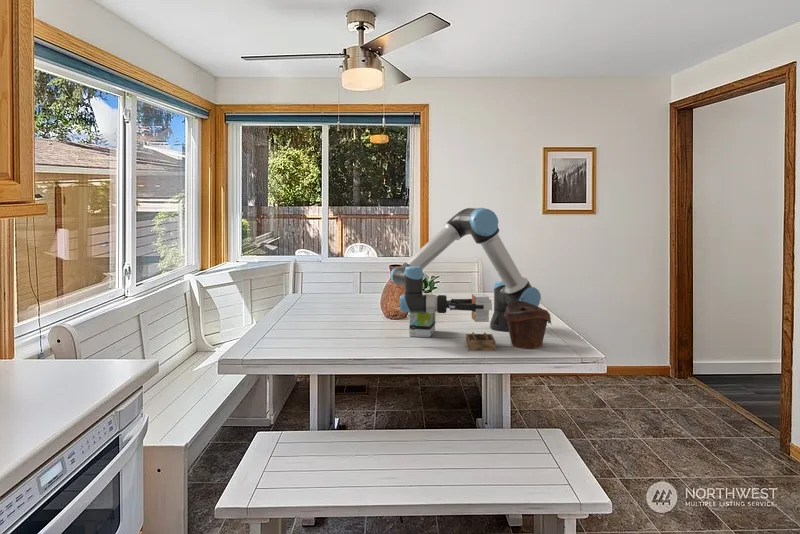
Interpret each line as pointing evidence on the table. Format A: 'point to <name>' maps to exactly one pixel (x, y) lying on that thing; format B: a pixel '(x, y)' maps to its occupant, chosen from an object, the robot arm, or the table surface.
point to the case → (526, 324)
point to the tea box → (422, 324)
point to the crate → (480, 342)
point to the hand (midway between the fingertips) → (491, 304)
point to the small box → (480, 314)
